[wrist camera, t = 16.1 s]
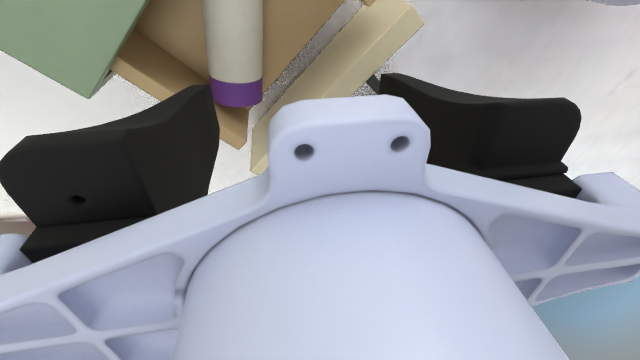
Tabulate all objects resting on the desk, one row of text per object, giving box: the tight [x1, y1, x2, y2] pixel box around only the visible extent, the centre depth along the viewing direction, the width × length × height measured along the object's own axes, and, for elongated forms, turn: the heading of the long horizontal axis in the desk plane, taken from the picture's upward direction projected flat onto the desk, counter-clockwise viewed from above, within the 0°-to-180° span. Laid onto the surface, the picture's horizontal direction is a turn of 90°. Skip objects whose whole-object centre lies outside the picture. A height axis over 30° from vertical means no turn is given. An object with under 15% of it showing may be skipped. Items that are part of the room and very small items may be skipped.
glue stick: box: [201, 0, 263, 107], centre depth 16 cm, size 8×3×3 cm
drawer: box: [110, 0, 424, 176], centre depth 17 cm, size 18×12×5 cm
